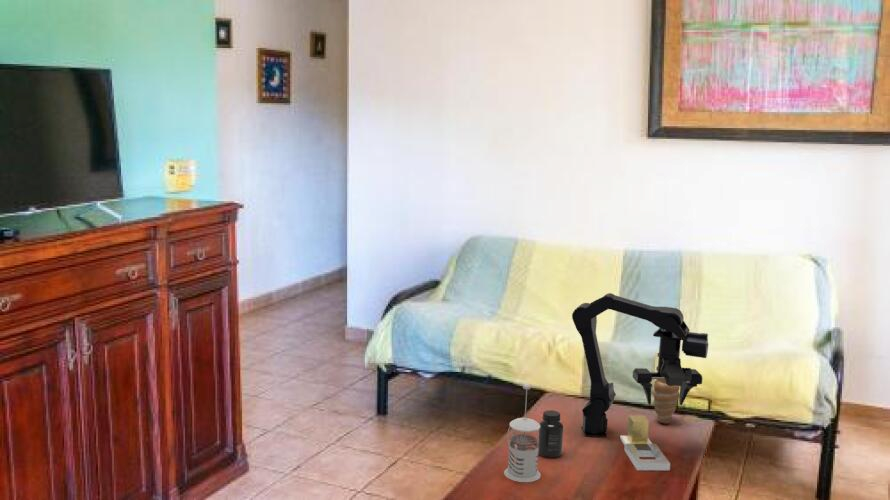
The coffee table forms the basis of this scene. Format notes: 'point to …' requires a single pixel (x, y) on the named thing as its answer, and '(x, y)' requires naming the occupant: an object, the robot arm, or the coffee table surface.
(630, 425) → the brass metal cube
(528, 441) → the french press
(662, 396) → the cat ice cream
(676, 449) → the coffee table surface
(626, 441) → the coaster
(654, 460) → the white flat frame
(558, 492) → the coffee table surface
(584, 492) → the coffee table surface
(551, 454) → the supplement bottle
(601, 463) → the coffee table surface
